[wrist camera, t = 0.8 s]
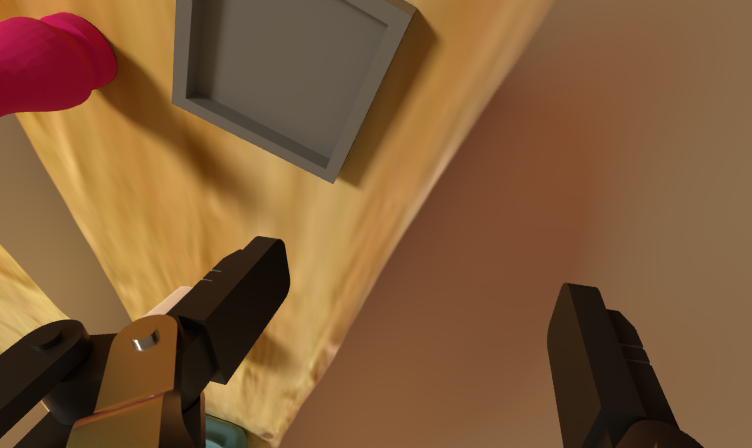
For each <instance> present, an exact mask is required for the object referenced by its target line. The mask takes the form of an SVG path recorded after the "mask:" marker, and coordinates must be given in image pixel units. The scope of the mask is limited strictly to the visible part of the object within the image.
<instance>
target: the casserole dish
mask: <svg viewBox="0 0 752 448" xmlns="http://www.w3.org/2000/svg"><path fill="white" fill-rule="evenodd" d="M205 423H206V448H247V437H246V434H245V432H244V430H243V429H242V428H241V427H239V426H237V425H235V424H232V423H229V422H227V421H224V420H221V419H216V418H215V417H212V416H209V415H206V414H205Z"/></svg>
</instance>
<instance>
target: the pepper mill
mask: <svg viewBox="0 0 752 448" xmlns="http://www.w3.org/2000/svg"><path fill="white" fill-rule="evenodd" d="M116 72H117V65H116V59H115V56H114V54H113V51H112V49H111V48H110V46H109V44H108V42H107V41H106V39H105V38H104V37H103V36H102V34H101V33H100V32H99V31H98V30H97V29H96V28H95V27H94V26H93V25H91V24H90V23H88V22H87V21H86V20H84V19H83V18H81V17H79V16H76V15H74V14H71V13H66V12H62V13H57V14H53V15H49V16H46V17H43V18H41V19H40V20H37V19H33V18H29V17H14V18H10V19H7V20H5V21H3V22H0V117H2V116H4V115H7V114H11V113H17V112H49V111H59V110H65V109H69V108H72V107H75V106H77V105H80V104H82V103H83V102H85V101H86V100H87V99H88V98H89V96H90V94H91V92H92V90H94V89H97V88H99V87H102V86H104V85H106V84H108V83H109V82H111V81H112V80H113V79H114V77H115V75H116Z"/></svg>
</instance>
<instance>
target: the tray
mask: <svg viewBox="0 0 752 448" xmlns="http://www.w3.org/2000/svg"><path fill="white" fill-rule="evenodd" d="M416 9H417V8H416V7H415V6H413V5H411V4H409V3H408V2H406V1H404V0H176V16H175V41H174V65H173V90H172V104H174V105H176V106H178V107H180V108H182V109H184V110H186V111H188V112H190V113H192V114H194V115H196V116H198V117H200V118H202V119H204V120H206V121H208V122H210V123H212V124H214V125H216V126H218V127H220V128H222V129H224V130H226V131H228V132H230V133H232V134H234V135H236V136H238V137H240V138H242V139H244V140H246V141H248V142H250V143H252V144H254V145H256V146H258V147H260V148H262V149H264V150H266V151H268V152H270V153H272V154H274V155H276V156H278V157H280V158H282V159H284V160H286V161H288V162H290V163H292V164H294V165H296V166H298V167H300V168H302V169H304V170H306V171H308V172H310V173H312V174H314V175H316V176H318V177H320V178H322V179H324V180H326V181H328V182H330V183H332V184H334V182H335V180H336V178H337V176H338V174H339V172H340V170H341V168H342V166H343V164H344V162H345V160H346V158H347V156H348V154H349V151H350V149H351V147H352V145H353V143H354V141H355V139H356V137H357V134H358V132H359V130H360V128H361V126H362V124H363V122H364V120H365V118H366V115H367V113H368V111H369V109H370V107H371V105H372V103H373V101H374V98H375V96H376V94H377V92H378V90H379V88H380V86H381V84H382V81H383V79H384V77H385V75H386V73H387V71H388V69H389V67H390V64H391V62H392V60H393V58H394V56H395V54H396V52H397V50H398V48H399V45H400V43H401V41H402V39H403V37H404V35H405V33H406V31H407V28H408V26H409V24H410V22H411V20H412V18H413V16H414V14H415V11H416Z"/></svg>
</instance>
